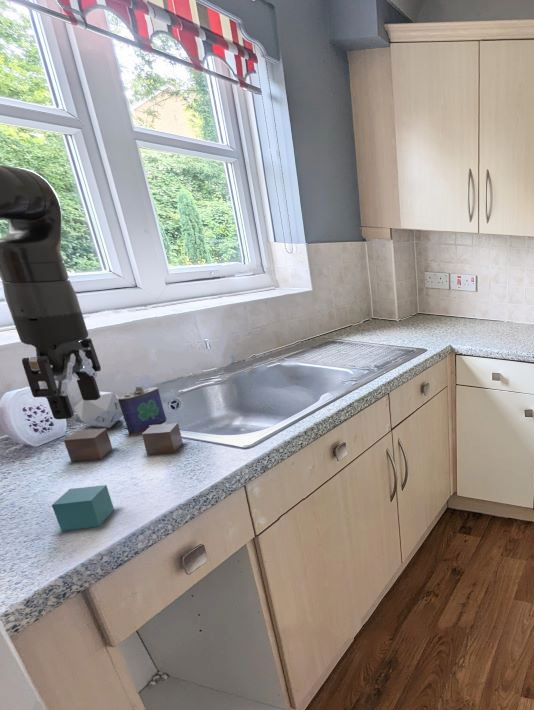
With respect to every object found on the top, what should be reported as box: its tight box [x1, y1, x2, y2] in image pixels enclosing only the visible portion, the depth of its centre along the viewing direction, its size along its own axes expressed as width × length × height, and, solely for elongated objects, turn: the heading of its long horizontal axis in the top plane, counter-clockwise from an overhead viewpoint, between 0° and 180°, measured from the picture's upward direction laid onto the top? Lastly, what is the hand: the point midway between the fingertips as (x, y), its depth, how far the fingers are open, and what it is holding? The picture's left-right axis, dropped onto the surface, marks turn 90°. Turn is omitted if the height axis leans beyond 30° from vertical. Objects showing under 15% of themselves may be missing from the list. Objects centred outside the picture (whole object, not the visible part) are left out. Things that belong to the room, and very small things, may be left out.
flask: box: [118, 385, 167, 436], centre depth 109 cm, size 9×3×11 cm, turn 171°
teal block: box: [51, 484, 115, 532], centre depth 75 cm, size 5×5×5 cm
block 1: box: [63, 427, 114, 463], centre depth 96 cm, size 5×5×5 cm
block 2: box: [141, 422, 184, 456], centre depth 100 cm, size 5×5×5 cm
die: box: [73, 391, 124, 429], centre depth 109 cm, size 8×9×10 cm
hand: (79, 408), depth 75 cm, fingers open, 8 cm apart
